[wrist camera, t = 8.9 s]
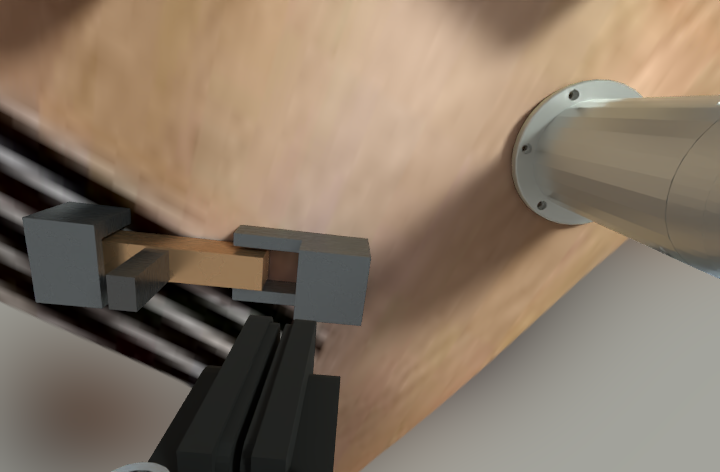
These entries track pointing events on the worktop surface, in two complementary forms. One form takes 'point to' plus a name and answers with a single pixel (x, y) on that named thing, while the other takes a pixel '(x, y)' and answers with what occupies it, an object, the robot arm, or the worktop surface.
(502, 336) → the worktop surface
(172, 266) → the sliding bolt with handle
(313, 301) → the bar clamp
